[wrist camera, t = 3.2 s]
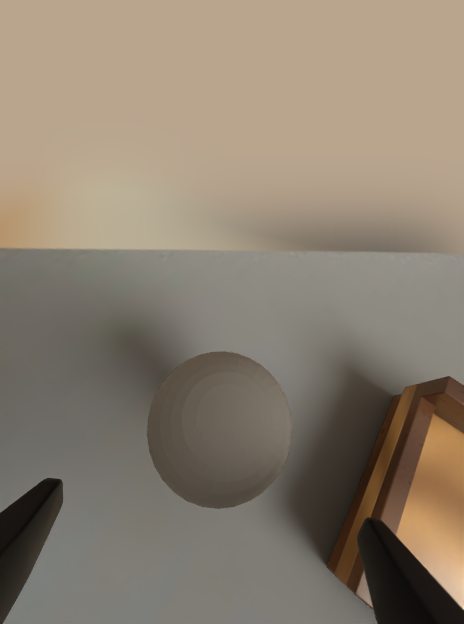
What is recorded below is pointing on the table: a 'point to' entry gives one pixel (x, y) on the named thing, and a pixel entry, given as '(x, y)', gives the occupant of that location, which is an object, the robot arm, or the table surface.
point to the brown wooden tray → (414, 487)
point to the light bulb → (219, 430)
